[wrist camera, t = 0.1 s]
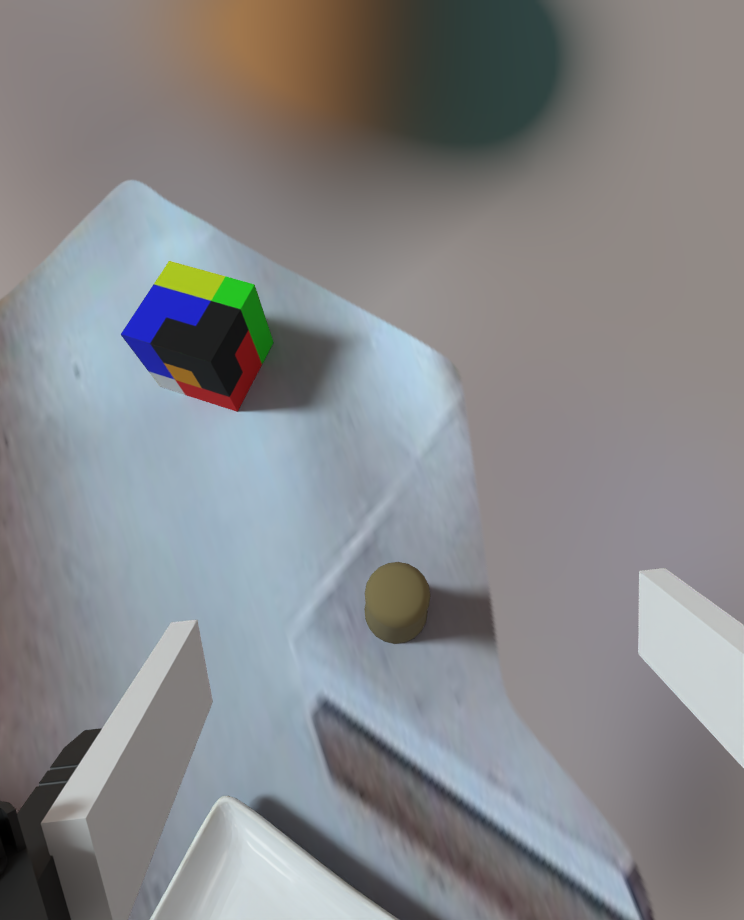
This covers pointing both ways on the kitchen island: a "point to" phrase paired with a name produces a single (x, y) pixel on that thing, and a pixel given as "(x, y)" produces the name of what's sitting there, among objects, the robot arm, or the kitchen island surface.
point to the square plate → (256, 876)
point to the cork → (396, 602)
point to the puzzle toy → (201, 334)
